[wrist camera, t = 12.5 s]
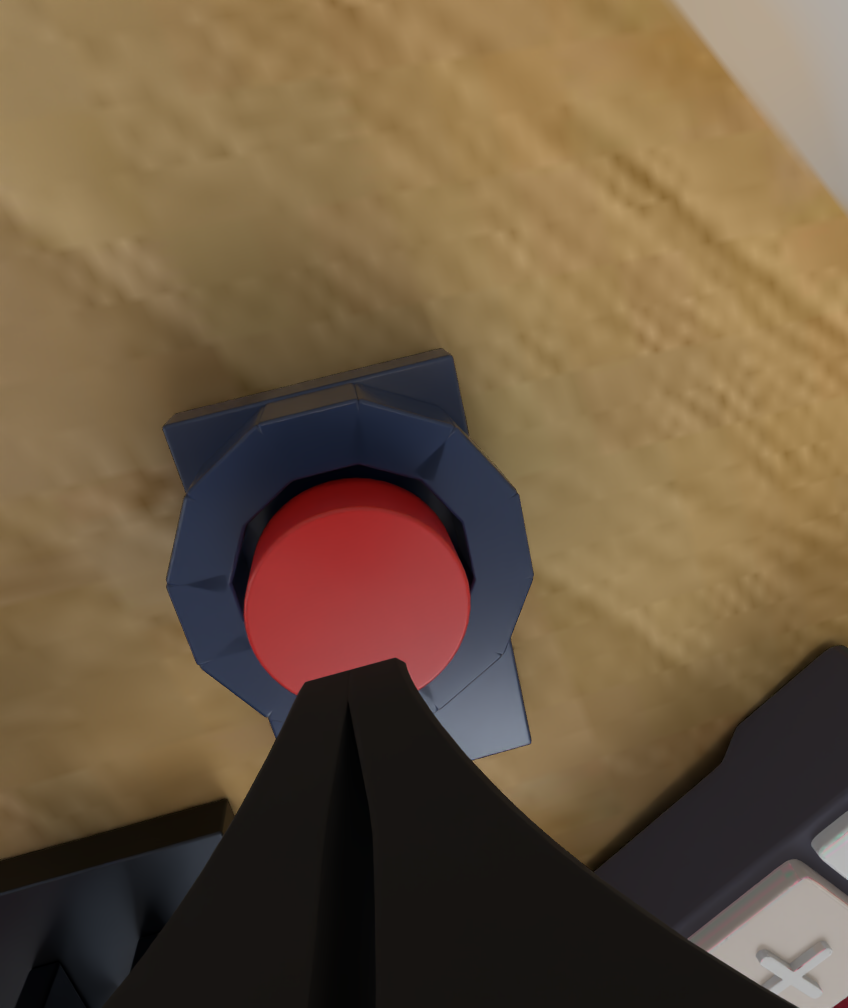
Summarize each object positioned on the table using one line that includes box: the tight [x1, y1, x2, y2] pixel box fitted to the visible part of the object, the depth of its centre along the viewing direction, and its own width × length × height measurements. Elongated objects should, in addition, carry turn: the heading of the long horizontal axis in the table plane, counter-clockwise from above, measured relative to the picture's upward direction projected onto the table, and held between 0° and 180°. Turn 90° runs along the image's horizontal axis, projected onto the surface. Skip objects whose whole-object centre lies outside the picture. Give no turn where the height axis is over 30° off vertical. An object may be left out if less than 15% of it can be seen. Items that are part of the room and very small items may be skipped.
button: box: [244, 478, 470, 695], centre depth 13 cm, size 4×4×2 cm
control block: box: [163, 348, 534, 760], centre depth 16 cm, size 10×7×3 cm
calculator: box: [594, 646, 848, 1008], centre depth 21 cm, size 11×4×15 cm
